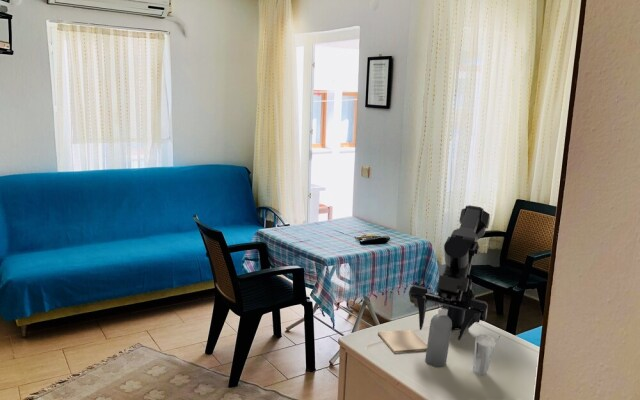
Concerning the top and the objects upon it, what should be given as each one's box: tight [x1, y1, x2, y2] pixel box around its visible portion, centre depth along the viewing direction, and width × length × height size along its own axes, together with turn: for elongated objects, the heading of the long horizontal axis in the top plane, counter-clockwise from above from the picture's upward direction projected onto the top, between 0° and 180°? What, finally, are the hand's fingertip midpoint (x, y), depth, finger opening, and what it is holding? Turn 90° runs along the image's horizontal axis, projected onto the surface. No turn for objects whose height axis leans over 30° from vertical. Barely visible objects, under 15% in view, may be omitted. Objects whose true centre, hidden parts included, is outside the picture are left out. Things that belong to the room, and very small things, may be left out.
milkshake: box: [472, 334, 501, 376], centre depth 118 cm, size 4×5×10 cm
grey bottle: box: [424, 308, 452, 369], centre depth 121 cm, size 5×5×14 cm
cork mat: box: [377, 329, 427, 354], centre depth 131 cm, size 10×10×1 cm
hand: (439, 334), depth 120 cm, fingers open, 9 cm apart
